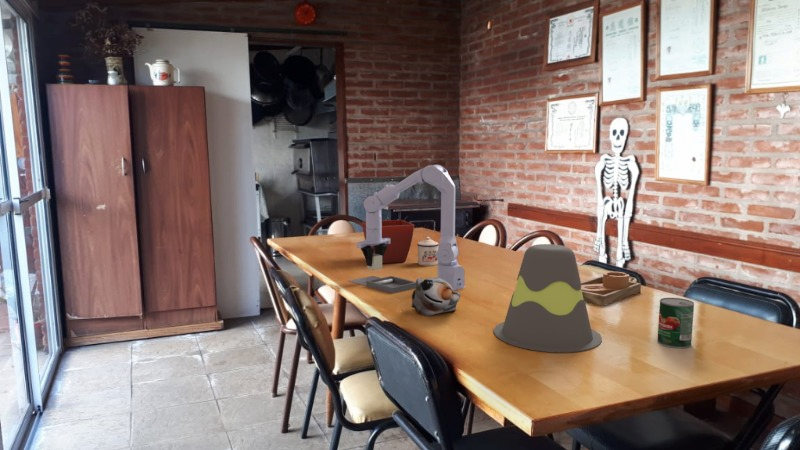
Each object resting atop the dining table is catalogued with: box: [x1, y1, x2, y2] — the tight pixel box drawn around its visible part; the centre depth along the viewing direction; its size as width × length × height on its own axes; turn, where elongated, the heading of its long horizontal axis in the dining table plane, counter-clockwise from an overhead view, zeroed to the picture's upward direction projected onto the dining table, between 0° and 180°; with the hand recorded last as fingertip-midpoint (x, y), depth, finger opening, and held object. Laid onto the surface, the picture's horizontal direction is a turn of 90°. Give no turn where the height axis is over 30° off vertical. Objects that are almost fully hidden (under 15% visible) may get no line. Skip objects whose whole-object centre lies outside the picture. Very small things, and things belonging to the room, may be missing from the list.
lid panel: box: [348, 275, 380, 287], centre depth 212 cm, size 11×12×1 cm
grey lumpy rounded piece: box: [411, 277, 461, 317], centre depth 172 cm, size 15×12×14 cm
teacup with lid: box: [416, 236, 439, 267], centre depth 245 cm, size 12×9×12 cm
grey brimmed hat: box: [493, 243, 603, 354], centre depth 151 cm, size 28×28×24 cm
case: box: [366, 275, 416, 294], centre depth 203 cm, size 14×12×2 cm
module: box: [366, 254, 383, 271], centre depth 211 cm, size 4×4×5 cm
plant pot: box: [361, 219, 415, 264], centre depth 252 cm, size 19×19×17 cm
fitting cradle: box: [581, 275, 642, 306], centre depth 194 cm, size 15×25×3 cm, turn 132°
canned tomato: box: [656, 297, 695, 349], centre depth 145 cm, size 8×8×11 cm
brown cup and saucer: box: [581, 271, 630, 295], centre depth 194 cm, size 18×8×7 cm, turn 104°
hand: (374, 264), depth 211 cm, fingers closed on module, 4 cm apart
